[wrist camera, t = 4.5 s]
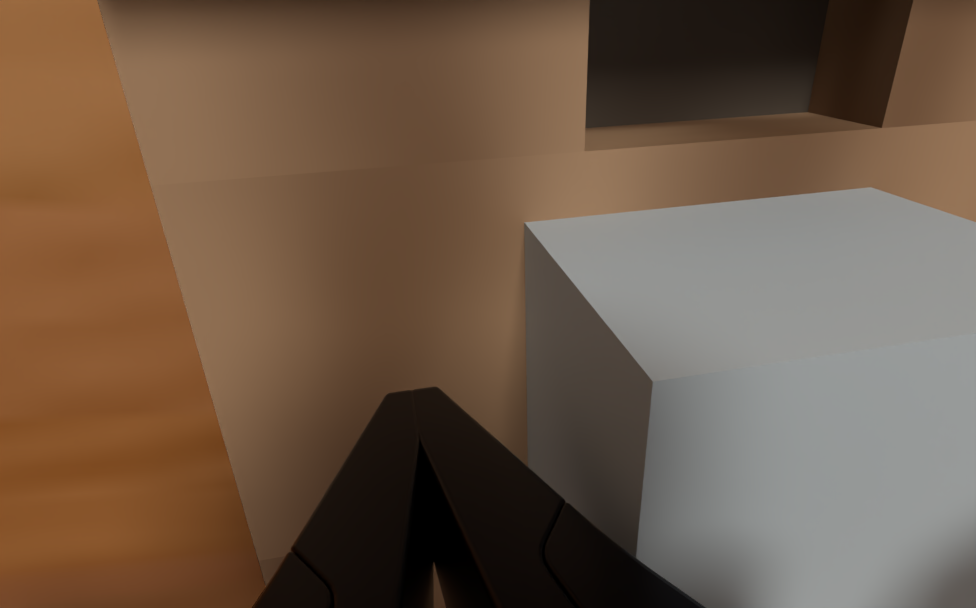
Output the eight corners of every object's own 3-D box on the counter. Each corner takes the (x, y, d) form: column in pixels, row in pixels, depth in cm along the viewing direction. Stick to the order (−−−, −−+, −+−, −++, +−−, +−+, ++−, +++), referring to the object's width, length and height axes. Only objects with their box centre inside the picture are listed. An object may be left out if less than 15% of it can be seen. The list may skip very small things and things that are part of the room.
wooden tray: (308, 624, 15) (285, 886, 10) (99, -197, 8) (-248, -483, 3) (1108, 471, 18) (1342, 614, 14) (1459, -178, 11) (2152, -301, 7)
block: (528, 474, 11) (619, 722, 7) (524, 222, 9) (652, 381, 5) (811, 426, 12) (1028, 623, 8) (869, 187, 10) (1203, 298, 6)
